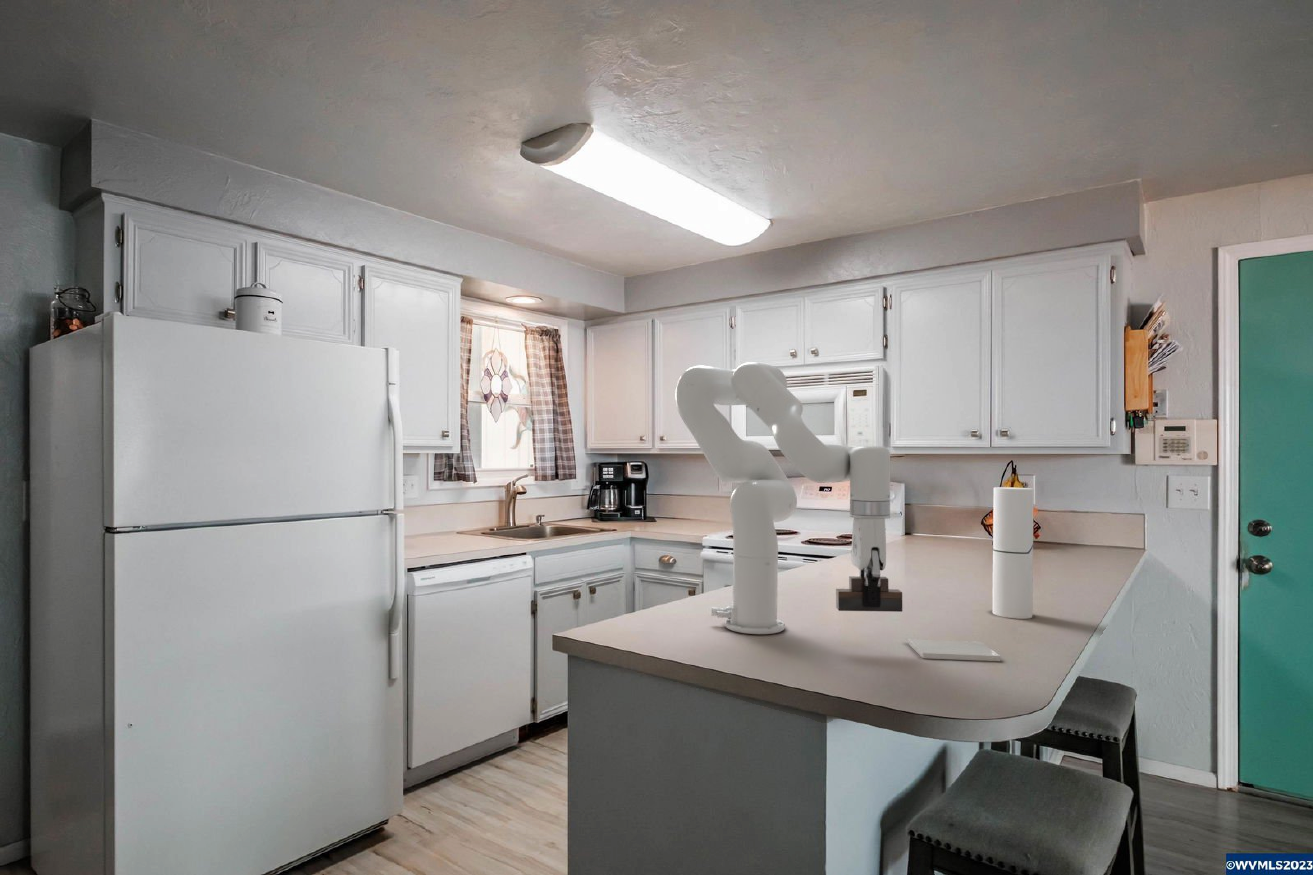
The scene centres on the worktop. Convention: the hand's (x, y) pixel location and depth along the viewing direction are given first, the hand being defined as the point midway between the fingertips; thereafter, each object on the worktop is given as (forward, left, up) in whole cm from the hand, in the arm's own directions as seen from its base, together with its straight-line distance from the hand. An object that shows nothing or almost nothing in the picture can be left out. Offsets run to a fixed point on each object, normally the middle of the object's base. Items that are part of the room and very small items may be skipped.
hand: (869, 604), depth 143 cm
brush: (0, 0, -1) cm, 1 cm away
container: (+41, +36, -9) cm, 55 cm away
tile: (+16, 0, -9) cm, 18 cm away
